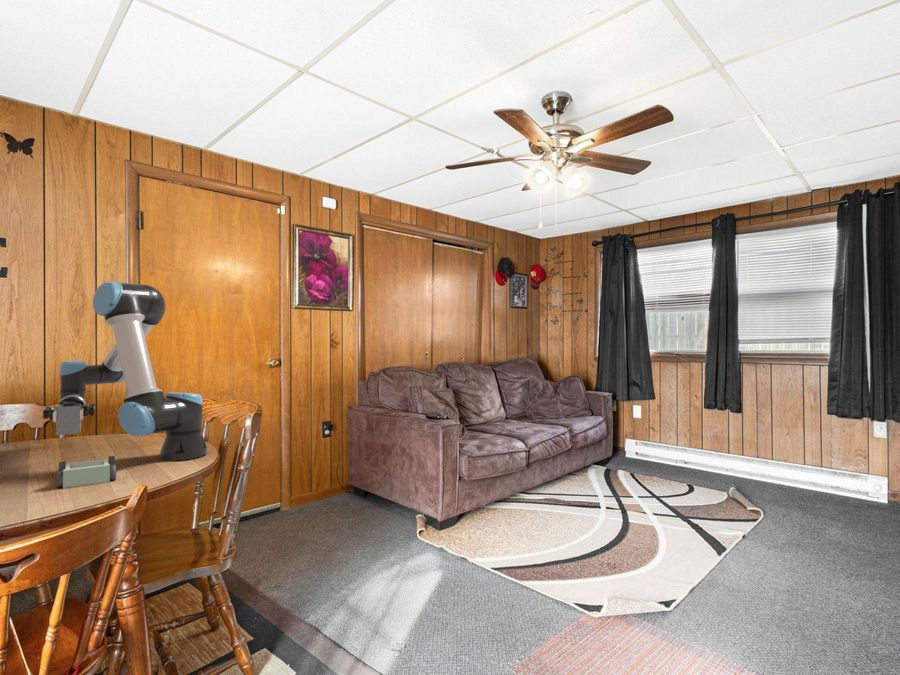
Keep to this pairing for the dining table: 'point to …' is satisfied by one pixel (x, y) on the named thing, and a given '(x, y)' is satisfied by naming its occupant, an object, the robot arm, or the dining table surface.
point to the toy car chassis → (85, 472)
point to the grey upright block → (68, 418)
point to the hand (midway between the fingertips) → (68, 416)
